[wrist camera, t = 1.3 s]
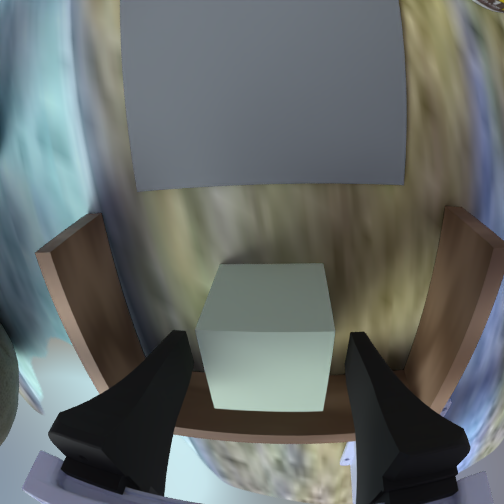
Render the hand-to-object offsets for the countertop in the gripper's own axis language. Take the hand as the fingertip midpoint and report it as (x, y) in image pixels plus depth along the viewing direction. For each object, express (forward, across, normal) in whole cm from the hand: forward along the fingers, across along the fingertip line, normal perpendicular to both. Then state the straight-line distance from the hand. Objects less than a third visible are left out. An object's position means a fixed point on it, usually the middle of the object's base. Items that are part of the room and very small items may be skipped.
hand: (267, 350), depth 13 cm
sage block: (+3, 0, 0) cm, 4 cm away
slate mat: (+3, 0, -11) cm, 12 cm away
